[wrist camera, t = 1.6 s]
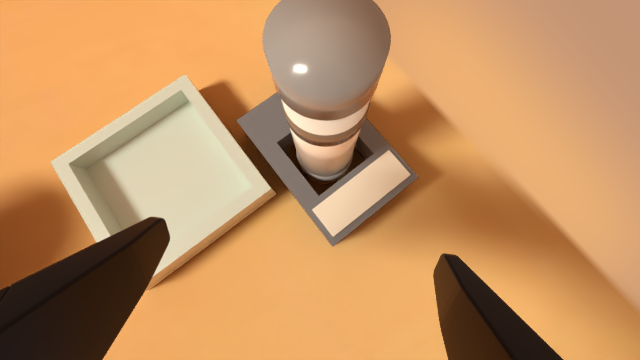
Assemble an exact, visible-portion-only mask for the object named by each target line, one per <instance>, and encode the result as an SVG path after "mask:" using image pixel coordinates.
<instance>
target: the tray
mask: <svg viewBox="0 0 640 360" xmlns="http://www.w3.org/2000/svg"><path fill="white" fill-rule="evenodd" d="M51 164H52V166H53V167H54V169H55V171H56V173H57V174H58V176H59V178H60V180H61V181H62V183H63V185H64V187H65V188H66V190H67V192H68V193H69V195H70V197H71V199H72V200H73V202H74V204H75V206H76V207H77V209H78V211H79V213H80V214H81V216H82V218H83V220H84V221H85V223H86V225H87V226H88V228H89V230H90V232H91V233H92V235H93V237H94V239H95V240H96V242H99V241H101V240H103V239H105V238H107V237H110V236H112V235H114V234H116V233H118V232H120V231H122V230H124V229H126V228H128V227H130V226H132V225H134V224H136V223H138V222H140V221H142V220H144V219H146V218H148V217H160V218H164V219H165V221H166V224H167V227H168V230H169V234H170V242H169V244H168V246H167V248H166V251H165V253H164V255H163V257H162V259H161V261H160V263H159V265H158V267H157V269H156V271H155V273H154V275H153V277H152V279H151V281H150V283H149V285H148V287H147V288H146V290H145V291H147V290H150V289H151V288H152V287H154V286H155V285H156V284H158V283H159V282H160V281H162V280H163V279H164V278H166V277H167V276H168V275H170V274H171V273H172V272H174V271H175V270H176V269H178V268H179V267H180V266H182V265H183V264H184V263H186V262H187V261H188V260H190V259H191V258H192V257H194V256H195V255H196V254H198V253H199V252H200V251H202V250H203V249H204V248H206V247H207V246H208V245H210V244H211V243H212V242H214V241H215V240H216V239H218V238H219V237H220V236H222V235H223V234H224V233H226V232H227V231H228V230H230V229H231V228H232V227H234V226H235V225H236V224H238V223H239V222H240V221H242V220H243V219H244V218H246V217H247V216H248V215H250V214H251V213H252V212H254V211H255V210H256V209H258V208H259V207H260V206H262V205H263V204H264V203H266V202H267V201H268V200H270V199H271V198H272V197H274V196H275V195H276V193H275V191H274V190H273V189H272V187H271V186H270V185H269V183H268V182H267V181H266V179H265V178H264V177H263V175H262V174H261V173H260V171H259V170H258V169H257V167H256V166H255V165H254V163H253V162H252V161H251V159H250V158H249V157H248V155H247V154H246V153H245V151H244V150H243V149H242V147H241V146H240V145H239V144H238V142H237V141H236V140H235V138H234V137H233V136H232V134H231V133H230V132H229V130H228V129H227V128H226V126H225V125H224V124H223V122H222V121H221V120H220V118H219V117H218V116H217V114H216V113H215V112H214V110H213V109H212V108H211V106H210V105H209V104H208V102H207V101H206V100H205V98H204V97H203V96H202V94H201V93H200V92H199V90H198V89H197V88H196V87H195V86H194V84H193V83H192V82H191V81H190V79H189V78H188V77H187V76H186V75H183V76H182V77H180V78H179V79H177V80H176V81H174V82H172V83H171V84H169V85H168V86H166V87H165V88H163V89H162V90H160V91H159V92H157V93H156V94H154V95H152V96H151V97H149V98H148V99H146V100H145V101H143V102H142V103H140V104H139V105H137V106H136V107H134V108H132V109H131V110H129V111H128V112H126V113H125V114H123V115H122V116H120V117H119V118H117V119H116V120H114V121H112V122H111V123H109V124H108V125H106V126H105V127H103V128H102V129H100V130H99V131H97V132H96V133H94V134H92V135H91V136H89V137H88V138H86V139H85V140H83V141H82V142H80V143H79V144H77V145H76V146H74V147H72V148H71V149H69V150H68V151H66V152H65V153H63V154H62V155H60V156H59V157H57V158H56V159H54V160H52V161H51Z"/></svg>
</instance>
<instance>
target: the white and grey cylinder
mask: <svg viewBox="0 0 640 360" xmlns="http://www.w3.org/2000/svg"><path fill="white" fill-rule="evenodd" d="M390 39H391V35H390V28H389V25H388V22H387V19H386V17H385V15H384V14H383V12H382V11H381V9H380V8H379V7H378V5H377V4H376V3H375V2H374V1H372V0H281V1H280V2H279V3H278V4H277V5H276V6H275V7H274V9H273V10H272V11H271V13H270V15H269V16H268V18H267V21H266V23H265V26H264V30H263V48H264V53H265V56H266V59H267V62H268V66H269V69H270V72H271V75H272V78H273V82H274V85H275V88H276V91H277V92H278V94H279V96H280V98H281V103H282V107H283V110H284V114H285V117H286V120H287V123H288V125H289V127H290V130H291V134H292V137H293V140H294V144H295V147H296V154H297V159H298V162H299V165H300V168H301V170H302V172H303V173H304V174H305V175H306V176H307V177H308V178H309V179H311V180H312V181H314V182H317V183H323V184H327V183H332V182H335V181H337V180H339V179H341V178H342V177H343V176H344V175H345V174H346V172H347V171H348V169H349V167H350V164H351V161H352V158H353V151H354V147H355V144H356V141H357V138H358V135H359V132H360V129H361V127H362V125H363V123H364V120H365V117H366V114H367V111H368V108H369V105H370V99H371V98H372V96H373V95H374V92H375V90H376V88H377V85H378V82H379V79H380V76H381V73H382V71H383V68H384V65H385V62H386V59H387V56H388V53H389V49H390V42H391V40H390Z"/></svg>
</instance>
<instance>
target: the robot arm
mask: <svg viewBox="0 0 640 360" xmlns="http://www.w3.org/2000/svg"><path fill="white" fill-rule="evenodd" d="M169 242H170V234H169V230H168V227H167V224H166V221H165V219H164V218H160V217H148V218H146V219H144V220H142V221H140V222H138V223H136V224H134V225H132V226H130V227H128V228H126V229H124V230H122V231H120V232H118V233H116V234H114V235H112V236H110V237H107V238H105V239H103V240H101V241H99V242H97V243H95V244H93V245H91V246H89V247H87V248H85V249H83V250H81V251H79V252H77V253H75V254H73V255H71V256H69V257H67V258H64V259H62V260H60V261H58V262H56V263H54V264H52V265H50V266H48V267H46V268H44V269H42V270H40V271H38V272H36V273H34V274H32V275H30V276H28V277H26V278H24V279H21V280H19V281H17V282H15V283H13V284H12V285H11V286H7V287H5V288H3V289H1V290H0V360H102V359H103V358H104V356H105V355H106V353H107V351H108V350H109V348H110V347H111V345H112V343H113V342H114V340H115V338H116V337H117V335H118V334H119V332H120V330H121V329H122V327H123V326H124V324H125V322H126V321H127V319H128V317H129V316H130V314H131V313H132V311H133V309H134V308H135V306H136V305H137V303H138V301H139V300H140V298H141V297H142V295H143V293H144V292H145V290H146V288H147V287H148V285H149V283H150V281H151V279H152V277H153V275H154V273H155V271H156V269H157V267H158V265H159V263H160V261H161V259H162V257H163V255H164V253H165V251H166V248H167V246H168V244H169ZM433 278H434V285H435V293H436V300H437V308H438V315H439V322H440V327H441V332H442V336H443V340H444V344H445V348H446V352H447V356H448V360H563V359H562V358H561V357H560V356H559V355H558V354H557V353H556V352H555V351H554V350H553V349H552V348H551V347H550V346H549V345H548V344H547V343H546V342H545V341H544V340H543V339H542V338H541V337H540V336H539V335H538V334H537V333H536V332H535V331H534V330H533V329H532V328H531V327H530V326H528V325H527V324H526V323H525V322H524V321H523V320H522V319H521V318H520V317H519V316H518V315H517V314H516V313H515V312H514V311H513V310H512V309H511V308H510V307H509V306H508V305H507V304H506V303H505V302H504V301H503V300H502V299H501V298H500V297H499V296H498V295H497V294H496V293H495V292H494V291H493V290H492V289H491V288H490V287H489V286H488V285H487V284H486V283H485V282H484V281H483V280H481V279H480V278H479V277H478V276H477V275H476V274H475V273H474V272H473V271H472V270H471V269H470V268H469V267H468V266H467V265H466V264H465V263H464V262H463V261H462V260H461V259H460V258H459V257H458V256H456V255H453V254H442V255H441V256H440V258H439V261H438V263H437V265H436V267H435V270H434V274H433Z"/></svg>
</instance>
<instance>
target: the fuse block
mask: <svg viewBox="0 0 640 360" xmlns="http://www.w3.org/2000/svg"><path fill="white" fill-rule="evenodd" d="M236 121H237V122H238V124H239V125H240V126H241V128H242V129H243V131H244V132H245V133H246V135H247V136H248V137H249V139H250V140H251V141H252V142H253V144H254V145H255V146H256V148H257V149H258V150H259V152H260V153H261V154H262V155H263V157H264V158H265V159H266V161H267V162H268V163H269V165H270V166H271V167H272V169H273V170H274V171H275V172H276V174H277V175H278V176H279V178H280V179H281V180H282V182H283V183H284V184H285V185H286V187H287V188H288V189H289V191H290V192H291V193H292V195H293V196H294V197H295V199H296V200H297V201H298V202H299V204H300V205H301V206H302V208H303V209H304V210H305V212H306V213H307V214H308V215H309V217H310V218H311V219H312V221H313V222H314V223H315V225H316V226H317V227H318V229H319V230H320V231H321V232H322V234H323V235H324V236H325V238H326V239H327V240H328V242H329V243H330V244H331V245H332V246H334V245H335V244H337V243H338V242H339V241H340V240H342V239H343V238H344V237H345V236H347V235H348V234H349V233H350V232H351V231H353V230H354V229H355V228H356V227H358V226H359V225H360V224H361V223H363V222H364V221H365V220H366V219H368V218H369V217H370V216H371V215H373V214H374V213H375V212H376V211H378V210H379V209H380V208H381V207H382V206H384V205H385V204H386V203H387V202H389V201H390V200H391V199H392V198H394V197H395V196H396V195H397V194H399V193H400V192H401V191H402V190H404V189H405V188H406V187H407V186H408V185H410V184H411V183H412V182H413V181H415V180H416V179H417V178H418V176H417V175H416V174H415V172H414V171H413V170H412V169H411V168H410V167H409V166H408V165H407V163H406V162H405V161H404V160H403V159H402V158H401V157H400V156H399V154H398V153H397V152H396V151H395V150H394V149H393V148H392V147H391V145H390V144H389V143H388V142H387V141H386V140H385V139H384V138H383V136H382V135H381V134H380V133H379V132H378V131H377V130H376V129H375V127H374V126H373V125H372V124H371V123H370V122H369V121H368V120H367V118H366V117H365V120H364V123H363V125H362V127H361V129H360V132H359V135H358V138H357V141H356V144H355V148H356V149H357V150H358V151H359V153H360V154H361V155H362V156H363V157H364V158H365V161H364V162H362V163H361V164H360V165H358V166H357V167H356V168H354V169H353V170H352V171H351V172H349V173H348V174H347V175H345V176H344V177H343V178H342V179H340V180H339V181H338V182H336V183H335V184H334V185H332V186H331V187H330V188H329V189H327V190H326V191H325V192H323V193H322V194H321V195H319V196H318V194H317V193H316V192H315V191H314V189H313V188H312V187H311V185H310V184H309V183H308V182H307V180H306V179H305V178H304V177H303V175H302V174H301V173H300V172H299V170H298V169H297V168H296V166H295V165H294V164H293V163H292V161H291V160H290V159H289V158H288V156H287V155H286V154H285V152H284V151H285V150H286V149H288V148H289V147H291V146H292V145H293V144H294V140H293V137H292V134H291V130H290V127H289V125H288V123H287V120H286V117H285V114H284V110H283V107H282V103H281V98H280V96H279V94H278V92H277V93H275V94H274V95H272V96H271V97H269V98H268V99H266V100H265V101H264V102H262V103H261V104H259V105H258V106H256V107H255V108H254V109H252V110H251V111H249V112H248V113H246V114H245V115H243V116H242V117H241V118H239V119H238V120H236Z"/></svg>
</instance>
